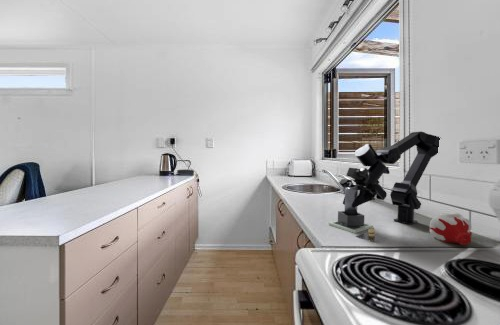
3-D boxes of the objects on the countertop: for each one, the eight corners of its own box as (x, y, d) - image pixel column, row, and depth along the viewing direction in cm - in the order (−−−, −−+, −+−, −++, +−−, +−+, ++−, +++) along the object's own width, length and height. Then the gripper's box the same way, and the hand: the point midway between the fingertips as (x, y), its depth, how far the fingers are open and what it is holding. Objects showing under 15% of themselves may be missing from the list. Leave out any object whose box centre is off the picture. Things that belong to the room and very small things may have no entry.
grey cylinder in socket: (353, 220, 94) (354, 186, 93) (364, 226, 87) (365, 189, 86) (337, 221, 93) (338, 186, 92) (347, 227, 86) (348, 189, 85)
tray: (346, 222, 98) (346, 218, 98) (372, 230, 88) (372, 225, 88) (328, 227, 92) (328, 222, 92) (355, 235, 82) (355, 230, 82)
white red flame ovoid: (455, 234, 82) (488, 258, 68) (418, 231, 85) (443, 254, 70) (459, 209, 81) (493, 228, 66) (421, 207, 83) (447, 225, 69)
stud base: (367, 235, 83) (367, 223, 83) (388, 241, 77) (388, 229, 77) (355, 239, 79) (355, 227, 79) (376, 246, 73) (376, 233, 73)
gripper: (343, 159, 99) (320, 187, 96) (380, 161, 81) (353, 195, 78) (358, 177, 102) (336, 205, 99) (398, 183, 84) (372, 217, 81)
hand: (348, 205), depth 89 cm, fingers closed on grey cylinder in socket, 4 cm apart
